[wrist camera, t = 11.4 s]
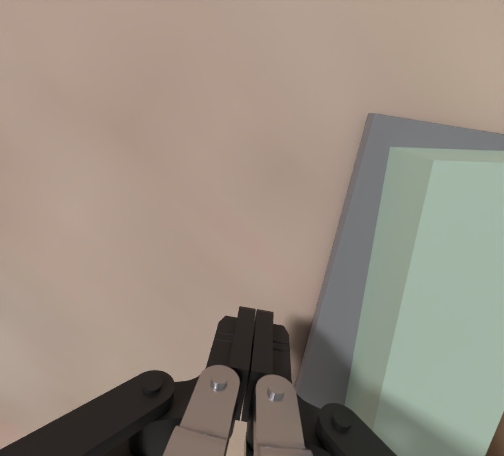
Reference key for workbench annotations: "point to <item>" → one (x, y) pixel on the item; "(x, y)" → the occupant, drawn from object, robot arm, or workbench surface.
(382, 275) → the plank
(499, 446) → the walnut board
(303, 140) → the workbench surface
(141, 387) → the robot arm
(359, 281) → the base
